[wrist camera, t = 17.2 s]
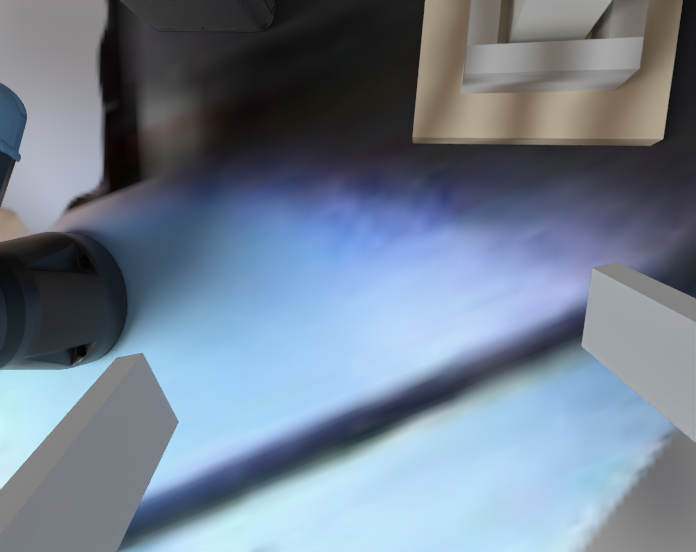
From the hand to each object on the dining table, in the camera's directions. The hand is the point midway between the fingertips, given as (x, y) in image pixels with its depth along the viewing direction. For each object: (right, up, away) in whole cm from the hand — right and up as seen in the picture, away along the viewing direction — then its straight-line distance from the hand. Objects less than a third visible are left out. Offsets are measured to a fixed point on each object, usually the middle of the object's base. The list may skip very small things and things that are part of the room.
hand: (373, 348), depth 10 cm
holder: (+15, +22, +17) cm, 32 cm away
